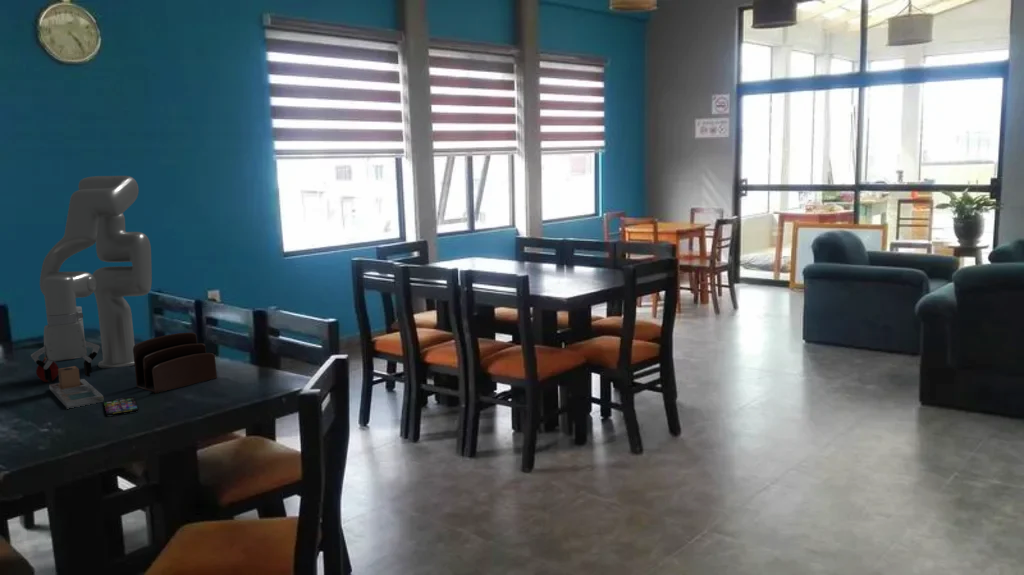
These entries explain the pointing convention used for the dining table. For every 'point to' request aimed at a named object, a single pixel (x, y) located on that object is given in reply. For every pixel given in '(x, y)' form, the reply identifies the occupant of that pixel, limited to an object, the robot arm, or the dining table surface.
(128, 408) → the smartphone
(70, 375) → the brown rectangular block
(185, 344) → the letter holder
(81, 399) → the pale grey slotted tray
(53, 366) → the onion
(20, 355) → the dining table surface
